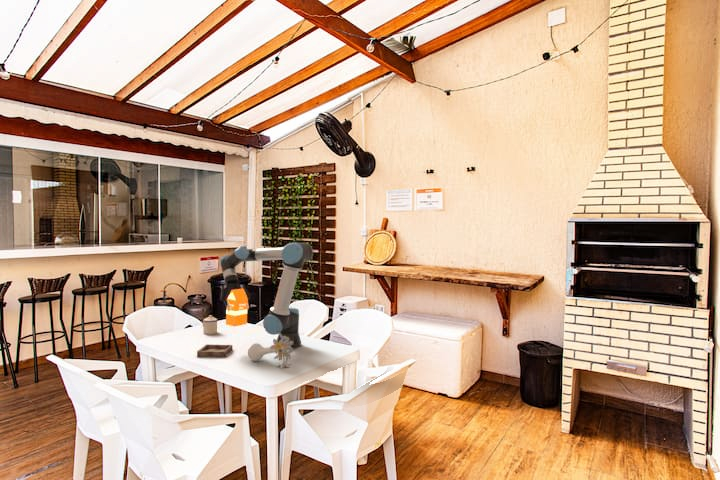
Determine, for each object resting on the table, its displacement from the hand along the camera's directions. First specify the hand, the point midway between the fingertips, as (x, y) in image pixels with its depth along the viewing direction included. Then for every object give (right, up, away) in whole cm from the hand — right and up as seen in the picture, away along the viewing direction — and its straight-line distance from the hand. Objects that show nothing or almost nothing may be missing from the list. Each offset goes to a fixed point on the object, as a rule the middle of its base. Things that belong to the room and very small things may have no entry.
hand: (238, 309), depth 234 cm
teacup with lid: (-33, -24, +46) cm, 61 cm away
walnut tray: (-13, -25, -1) cm, 28 cm away
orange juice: (-2, -9, +3) cm, 10 cm away
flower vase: (+21, -26, -16) cm, 37 cm away
